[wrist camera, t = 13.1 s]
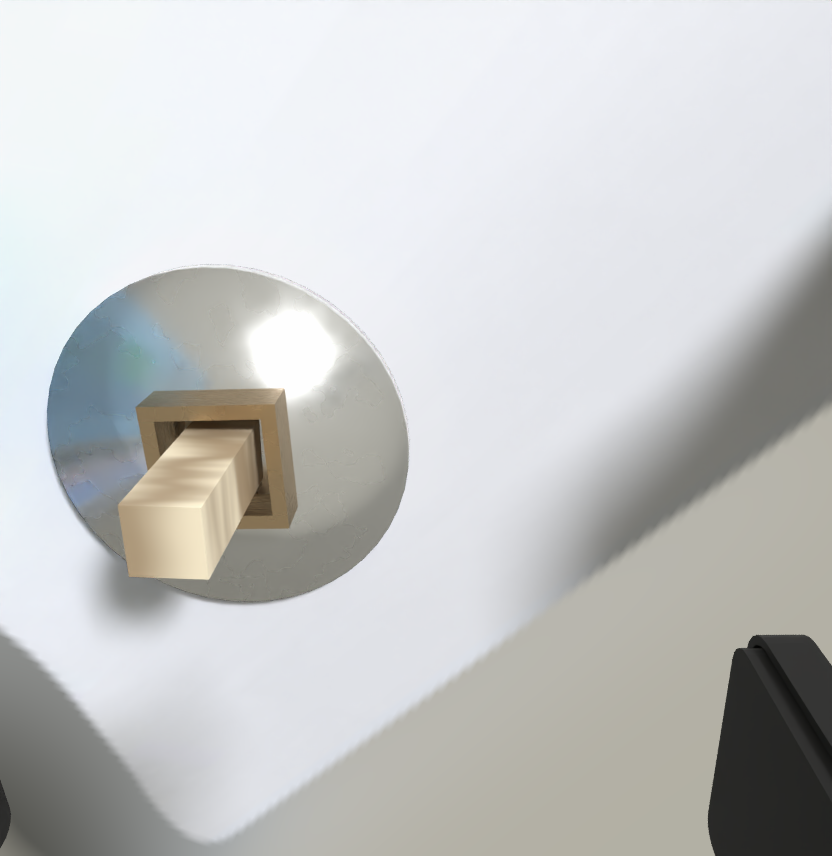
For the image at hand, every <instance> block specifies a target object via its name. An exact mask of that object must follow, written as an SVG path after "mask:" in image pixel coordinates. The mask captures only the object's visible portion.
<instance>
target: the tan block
mask: <svg viewBox="0 0 832 856" xmlns="http://www.w3.org/2000/svg"><path fill="white" fill-rule="evenodd" d="M262 479H263V466H262V452H261V438H260V424H259V420H213V421H192V422H191V423H190V424H189V425H188V427H187V428H186V429H185V430H184V431H183V432H182V433H181V434H180V436H179V437H178V438H177V439H176V440H175V441H174V442H173V443H172V445H171V446H170V447H169V448H168V449H167V450H166V451H165V452H164V454H163V455H162V456H161V457H160V458H159V459H158V460H157V461H156V463H155V464H154V465H153V466H152V467H151V468H150V469H149V470H148V472H147V473H146V474H145V475H144V476H143V477H142V478H141V479H140V481H139V482H138V483H137V484H136V485H135V486H134V487H133V489H132V490H131V491H130V492H129V493H128V494H127V495H126V496H125V498H124V499H123V500H122V501H121V502H120V503H119V504H118V511H119V517H120V523H121V530H122V536H123V542H124V549H125V555H126V561H127V567H128V574H129V577H148V578H176V579H204V580H209V579H210V577H211V575H212V573H213V571H214V569H215V568H216V566H217V564H218V562H219V560H220V558H221V556H222V554H223V553H224V551H225V549H226V547H227V545H228V543H229V541H230V539H231V538H232V536H233V534H234V532H235V530H236V528H237V526H238V524H239V523H240V521H241V519H242V517H243V515H244V513H245V511H246V509H247V508H248V506H249V504H250V502H251V500H252V498H253V496H254V494H255V493H256V491H257V489H258V487H259V485H260V483H261V481H262Z"/></svg>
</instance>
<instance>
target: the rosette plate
mask: <svg viewBox="0 0 832 856" xmlns="http://www.w3.org/2000/svg"><path fill="white" fill-rule="evenodd" d="M47 419H48V435H49V441H50V446H51V452H52V456H53V459H54V462H55V465H56V468H57V471H58V475H59V477H60V479H61V481H62V483H63V485H64V488H65V490H66V492H67V494H68V496H69V497H70V499H71V501H72V502H73V504H74V506H75V507H76V509H77V510H78V512H79V514H80V515H81V516H82V517H83V519H84V520H85V521H86V522H87V524H88V525H89V526H90V528H91V529H92V530H93V531H94V532H95V533H96V534H97V535H98V536H99V537H100V538H101V539H102V540H103V541H104V542H105V543H106V544H107V545H108V546H109V547H110V548H111V549H112V550H113V551H115V552H116V553H117V554H118V555H120V556H121V557H122V558H123V559H124V560H126V555H125V549H124V542H123V536H122V530H121V523H120V517H119V511H118V504H119V503H120V502H121V501H122V500H123V499H124V498H125V496H126V495H127V494H128V493H129V492H130V491H131V490H132V489H133V487H134V486H135V485H136V484H137V483H138V482H139V481H140V479H141V478H142V477H143V476H144V475H145V474H146V473H147V472H148V470H149V469H150V468H151V467H152V466H153V465H154V464H155V463H156V461H157V460H158V459H159V458H160V457H161V456H162V455H163V454H164V452H165V451H166V450H167V449H168V448H169V447H170V446H171V445H172V443H173V442H174V441H175V440H176V439H177V438H178V437H179V436H180V434H181V433H182V432H183V431H184V430H185V429H186V428H187V427H188V425H189V424H190V423H191V422H192V421H213V420H259V424H260V438H261V452H262V466H263V479H262V481H261V483H260V485H259V487H258V489H257V491H256V493H255V494H254V496H253V498H252V500H251V502H250V504H249V506H248V508H247V509H246V511H245V513H244V515H243V517H242V519H241V521H240V523H239V524H238V526H237V528H236V530H235V532H234V534H233V536H232V538H231V539H230V541H229V543H228V545H227V547H226V549H225V551H224V553H223V554H222V556H221V558H220V560H219V562H218V564H217V566H216V568H215V569H214V571H213V573H212V575H211V577H210V579H209V580H204V579H176V578H155V579H157V580H159V581H161V582H163V583H165V584H168V585H170V586H173V587H175V588H178V589H181V590H183V591H186V592H189V593H193V594H197V595H201V596H204V597H209V598H215V599H221V600H228V601H247V602H253V601H269V600H276V599H282V598H287V597H292V596H296V595H299V594H302V593H306V592H309V591H312V590H314V589H317V588H319V587H321V586H323V585H325V584H328V583H330V582H332V581H333V580H335V579H337V578H338V577H340V576H342V575H343V574H345V573H346V572H348V571H349V570H351V569H352V568H353V567H354V566H355V565H357V564H358V563H359V562H360V561H362V560H363V559H364V558H365V557H366V556H367V555H368V554H369V553H370V551H371V550H372V549H373V548H374V547H375V546H376V545H377V544H378V542H379V541H380V540H381V538H382V537H383V535H384V534H385V532H386V531H387V530H388V528H389V526H390V524H391V522H392V520H393V518H394V516H395V514H396V512H397V510H398V508H399V505H400V502H401V499H402V496H403V493H404V490H405V484H406V478H407V472H408V465H409V443H410V439H409V430H408V422H407V416H406V412H405V408H404V404H403V400H402V397H401V394H400V392H399V389H398V387H397V384H396V382H395V379H394V377H393V375H392V373H391V371H390V369H389V368H388V366H387V364H386V362H385V361H384V359H383V357H382V355H381V354H380V352H379V351H378V350H377V348H376V347H375V346H374V345H373V343H372V342H371V341H370V339H369V338H368V337H367V335H366V334H365V333H364V332H363V331H362V330H361V329H360V328H359V327H358V326H357V325H356V324H355V323H354V322H353V321H352V320H351V319H350V318H349V317H348V316H347V315H346V314H344V313H343V312H342V311H341V310H339V309H338V308H337V307H336V306H334V305H333V304H332V303H330V302H329V301H328V300H326V299H325V298H323V297H321V296H320V295H318V294H316V293H315V292H313V291H311V290H310V289H308V288H306V287H304V286H302V285H300V284H297V283H295V282H293V281H291V280H288V279H286V278H284V277H281V276H278V275H275V274H271V273H268V272H265V271H262V270H258V269H253V268H247V267H241V266H235V265H215V264H204V265H194V266H184V267H179V268H175V269H171V270H167V271H163V272H159V273H156V274H154V275H151V276H149V277H146V278H144V279H141V280H139V281H137V282H134V283H132V284H130V285H128V286H127V287H125V288H123V289H121V290H120V291H118V292H116V293H115V294H113V295H111V296H110V297H108V298H107V299H106V300H104V301H103V302H102V303H101V304H100V305H98V306H97V307H96V308H95V309H94V310H92V311H91V312H90V313H89V314H88V315H87V317H86V318H85V319H84V320H83V321H82V322H81V323H80V324H79V326H78V327H77V328H76V329H75V331H74V332H73V334H72V335H71V337H70V338H69V340H68V342H67V343H66V345H65V346H64V348H63V350H62V353H61V355H60V357H59V360H58V362H57V364H56V366H55V369H54V373H53V377H52V381H51V385H50V388H49V398H48V407H47Z"/></svg>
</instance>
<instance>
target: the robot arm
mask: <svg viewBox="0 0 832 856" xmlns="http://www.w3.org/2000/svg"><path fill="white" fill-rule="evenodd" d="M10 815H11V813H10V808H9V805H8V802H7V799H6V796H5V793H4V790H3V787H2V784H1V781H0V848H1V846H2V844H3V842H4V840H5V838H6V836H7V833H8V830H9V826H10V817H11V816H10ZM708 828H709V835H710V840H711V844H712V847H713V850H714V853H715V856H832V666H831V664H830V663H829V661H828V660H827V659H826V657H825V656H824V655H823V653H822V652H821V650H820V649H819V648H818V646H817V645H816V643H815V642H814V641H813V640H812V639H811V638H810V637H808V636H805V635H756V636H753V637H752V638H751V639H750V641H749V643H748V647H747V648H738V649H736V651H735V652H734V655H733V659H732V666H731V672H730V679H729V684H728V691H727V697H726V703H725V710H724V716H723V722H722V729H721V735H720V741H719V748H718V754H717V760H716V767H715V773H714V780H713V786H712V792H711V799H710V805H709V811H708Z"/></svg>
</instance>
